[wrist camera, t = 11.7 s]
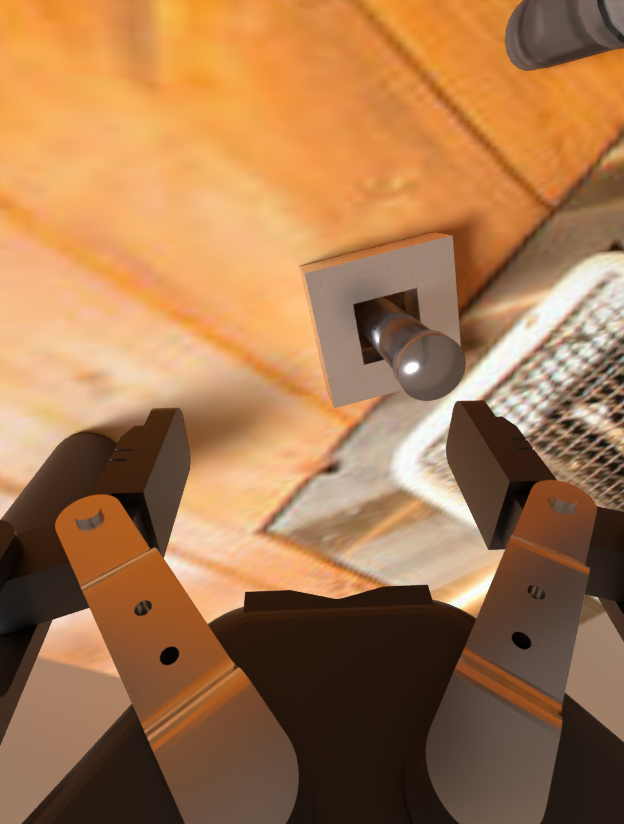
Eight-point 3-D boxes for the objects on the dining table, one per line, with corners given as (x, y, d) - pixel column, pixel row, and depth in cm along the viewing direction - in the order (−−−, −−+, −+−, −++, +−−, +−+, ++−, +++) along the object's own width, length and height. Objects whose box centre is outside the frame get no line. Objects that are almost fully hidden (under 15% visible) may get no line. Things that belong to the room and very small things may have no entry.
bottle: (78, 418, 41) (-51, 585, 23) (142, 456, 44) (71, 633, 26) (41, 467, 43) (-106, 658, 25) (104, 501, 46) (12, 696, 28)
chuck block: (298, 266, 38) (304, 273, 34) (433, 232, 38) (452, 235, 35) (327, 390, 43) (334, 407, 40) (445, 359, 44) (462, 374, 40)
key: (348, 299, 40) (394, 345, 27) (395, 287, 40) (463, 328, 27) (357, 345, 42) (403, 408, 29) (402, 333, 42) (467, 391, 29)
